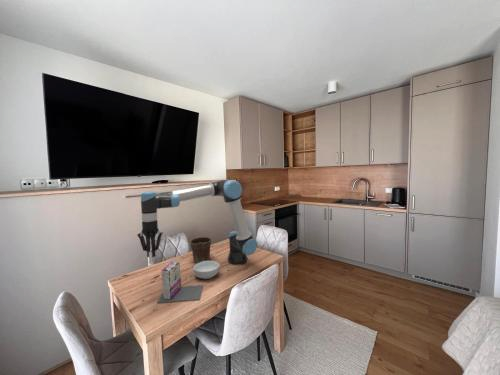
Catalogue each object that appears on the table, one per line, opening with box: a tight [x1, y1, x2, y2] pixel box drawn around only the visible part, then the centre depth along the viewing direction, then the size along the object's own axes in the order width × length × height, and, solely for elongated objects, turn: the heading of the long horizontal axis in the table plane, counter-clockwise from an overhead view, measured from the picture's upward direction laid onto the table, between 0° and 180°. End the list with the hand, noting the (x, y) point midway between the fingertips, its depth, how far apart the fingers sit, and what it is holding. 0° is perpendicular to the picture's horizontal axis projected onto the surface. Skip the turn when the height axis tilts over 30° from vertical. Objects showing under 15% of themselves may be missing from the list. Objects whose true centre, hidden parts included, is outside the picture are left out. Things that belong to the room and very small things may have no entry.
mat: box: [156, 284, 204, 304], centre depth 115 cm, size 22×14×1 cm, turn 96°
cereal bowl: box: [193, 260, 220, 280], centre depth 135 cm, size 17×17×7 cm
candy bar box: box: [161, 260, 182, 300], centre depth 114 cm, size 11×5×16 cm, turn 171°
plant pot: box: [189, 236, 212, 264], centre depth 159 cm, size 16×16×16 cm
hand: (151, 262), depth 112 cm, fingers closed
